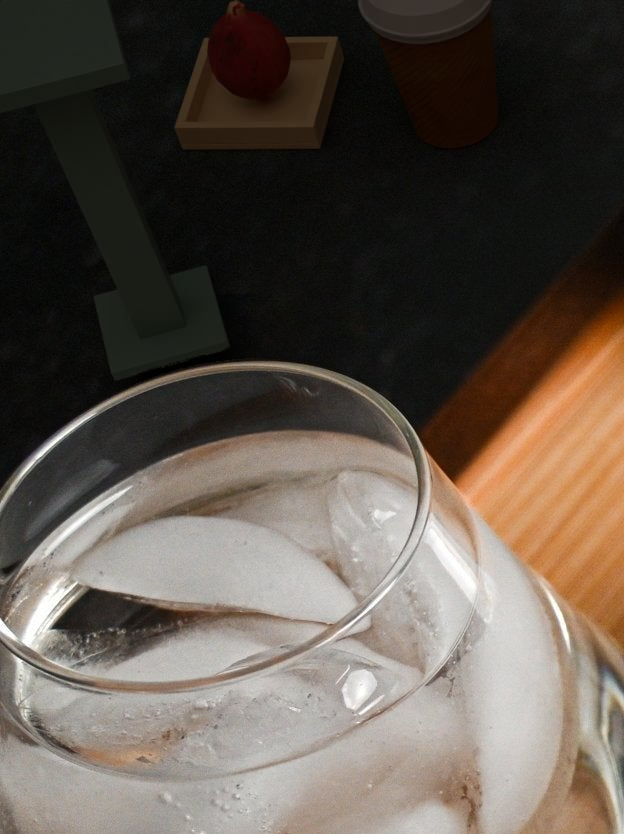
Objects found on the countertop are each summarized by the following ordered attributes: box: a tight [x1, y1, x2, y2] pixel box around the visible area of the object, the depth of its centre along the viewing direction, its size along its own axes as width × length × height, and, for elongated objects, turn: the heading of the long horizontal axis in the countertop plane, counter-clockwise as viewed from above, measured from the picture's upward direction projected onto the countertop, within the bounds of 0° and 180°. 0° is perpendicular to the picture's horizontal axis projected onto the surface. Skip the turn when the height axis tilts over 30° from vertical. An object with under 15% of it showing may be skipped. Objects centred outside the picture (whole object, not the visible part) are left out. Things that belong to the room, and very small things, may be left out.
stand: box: [0, 0, 231, 382], centre depth 123 cm, size 9×9×23 cm
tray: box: [174, 36, 345, 151], centre depth 144 cm, size 10×10×2 cm
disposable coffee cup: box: [357, 0, 500, 149], centre depth 138 cm, size 10×10×12 cm
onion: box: [207, 0, 291, 100], centre depth 142 cm, size 6×6×8 cm
